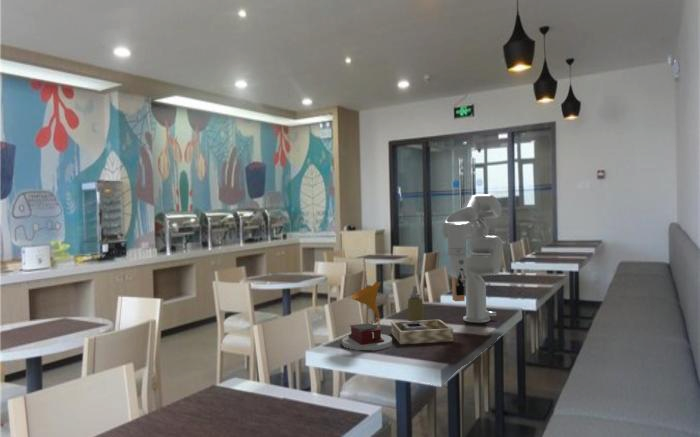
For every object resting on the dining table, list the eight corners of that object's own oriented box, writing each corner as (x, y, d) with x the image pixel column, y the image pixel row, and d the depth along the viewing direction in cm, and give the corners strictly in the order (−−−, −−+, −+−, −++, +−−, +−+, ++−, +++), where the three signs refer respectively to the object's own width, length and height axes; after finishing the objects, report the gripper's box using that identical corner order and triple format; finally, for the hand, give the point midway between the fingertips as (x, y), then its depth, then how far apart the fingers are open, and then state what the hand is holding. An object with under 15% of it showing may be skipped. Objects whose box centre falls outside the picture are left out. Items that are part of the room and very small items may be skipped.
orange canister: (461, 299, 212) (460, 273, 212) (464, 300, 208) (463, 275, 208) (452, 299, 212) (451, 274, 211) (455, 301, 208) (454, 275, 207)
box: (440, 330, 217) (439, 319, 217) (453, 341, 199) (452, 328, 199) (391, 333, 214) (391, 322, 214) (400, 344, 197) (400, 331, 196)
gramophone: (379, 335, 212) (377, 278, 212) (401, 346, 193) (399, 284, 193) (335, 341, 205) (333, 281, 205) (353, 353, 186) (351, 288, 186)
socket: (421, 332, 211) (421, 322, 211) (427, 337, 202) (427, 326, 202) (401, 333, 210) (401, 323, 210) (406, 338, 201) (406, 328, 201)
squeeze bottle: (424, 321, 236) (422, 284, 235) (424, 325, 228) (423, 287, 227) (407, 321, 236) (406, 284, 236) (407, 325, 228) (406, 287, 228)
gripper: (472, 253, 201) (473, 297, 202) (458, 249, 218) (460, 290, 219) (454, 254, 201) (456, 298, 201) (442, 250, 217) (444, 291, 218)
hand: (458, 293), depth 210 cm, fingers closed on orange canister, 4 cm apart
